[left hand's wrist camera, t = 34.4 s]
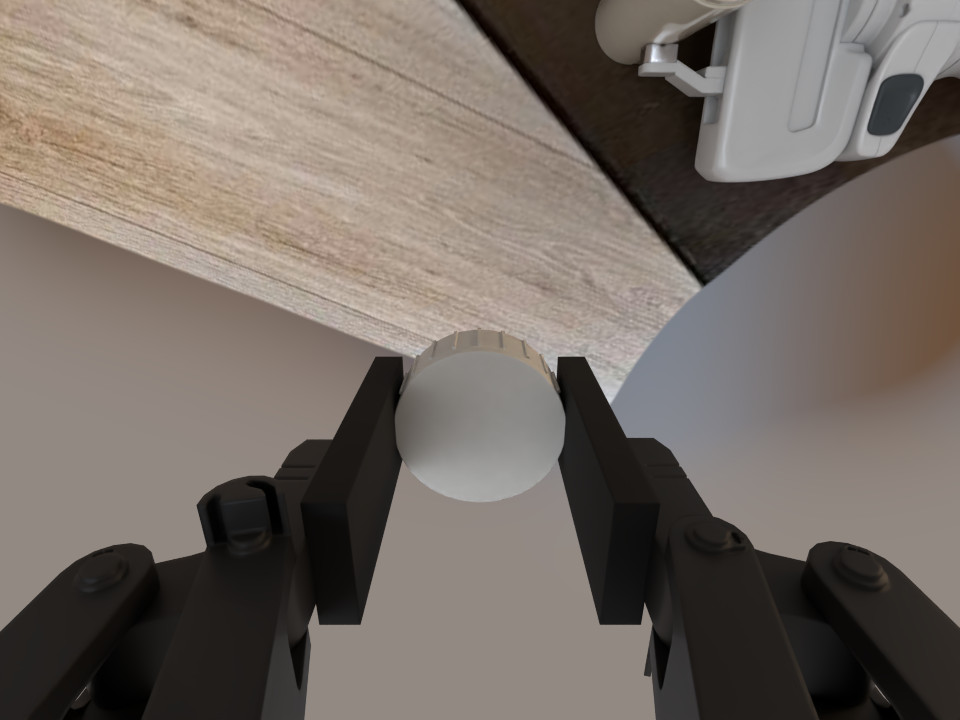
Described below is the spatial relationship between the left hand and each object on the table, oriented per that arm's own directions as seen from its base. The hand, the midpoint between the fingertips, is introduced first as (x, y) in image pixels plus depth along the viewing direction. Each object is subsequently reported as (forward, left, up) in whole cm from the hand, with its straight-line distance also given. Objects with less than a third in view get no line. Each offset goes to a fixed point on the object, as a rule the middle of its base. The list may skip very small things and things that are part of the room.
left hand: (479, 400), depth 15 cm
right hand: (+13, +12, -21) cm, 28 cm away
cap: (0, 0, +1) cm, 1 cm away
